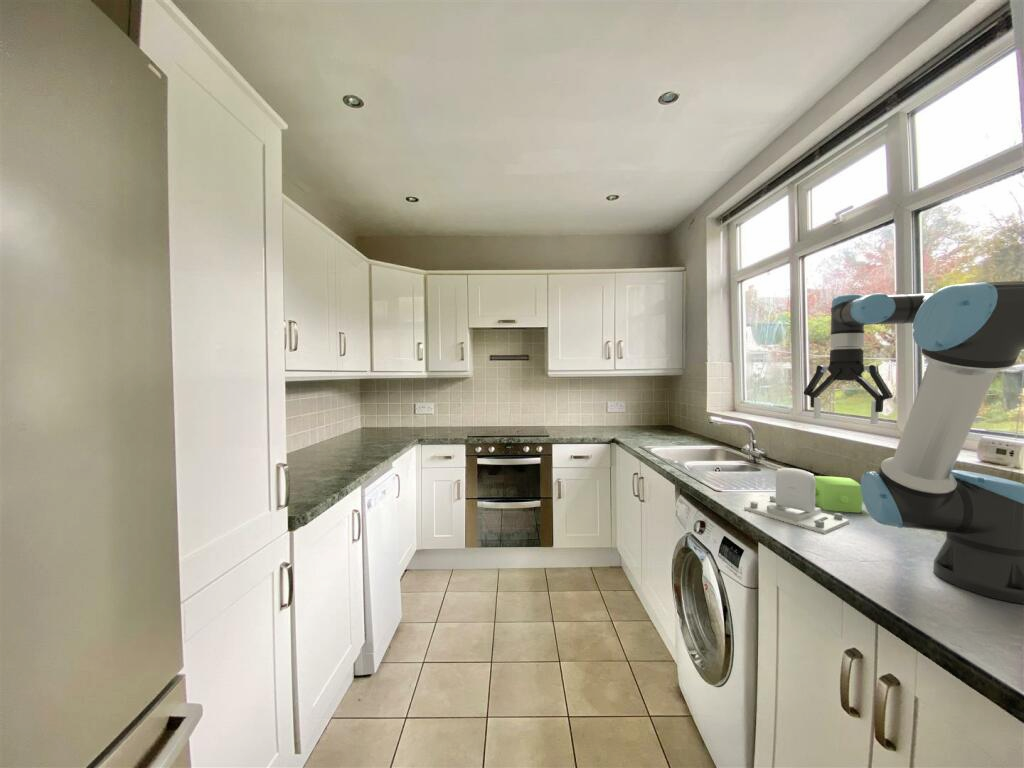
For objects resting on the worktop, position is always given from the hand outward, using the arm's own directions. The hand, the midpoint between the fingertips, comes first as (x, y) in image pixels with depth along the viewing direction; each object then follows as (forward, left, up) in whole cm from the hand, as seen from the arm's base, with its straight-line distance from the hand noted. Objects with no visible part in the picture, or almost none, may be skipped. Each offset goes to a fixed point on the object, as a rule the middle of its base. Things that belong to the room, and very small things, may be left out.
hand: (844, 421), depth 115 cm
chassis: (+10, +5, -31) cm, 33 cm away
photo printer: (+10, +5, -28) cm, 31 cm away
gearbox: (+7, -15, -31) cm, 35 cm away
